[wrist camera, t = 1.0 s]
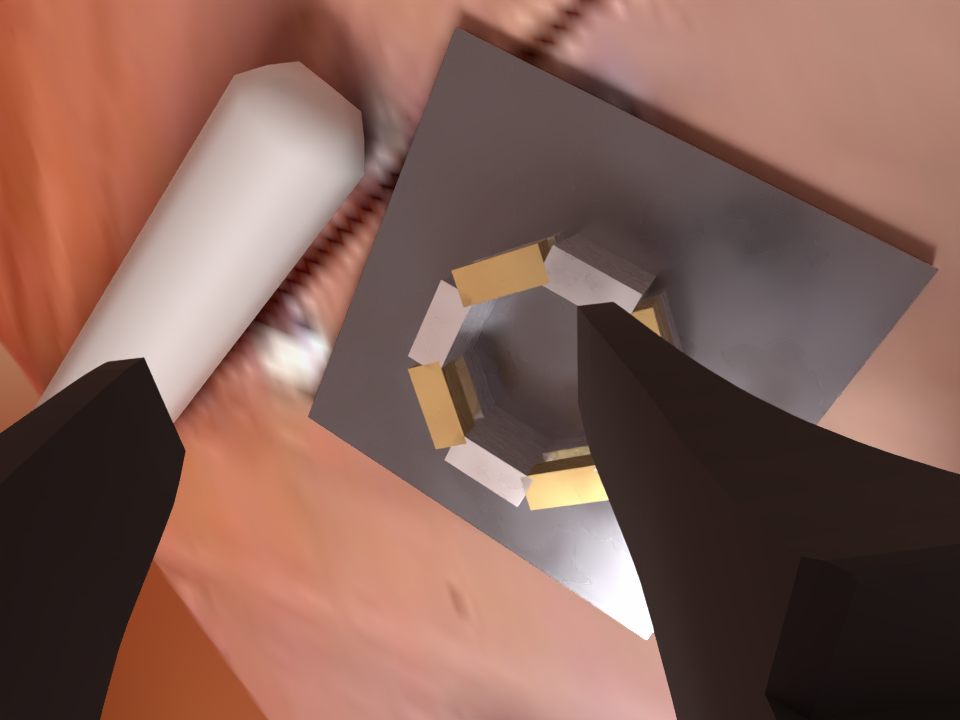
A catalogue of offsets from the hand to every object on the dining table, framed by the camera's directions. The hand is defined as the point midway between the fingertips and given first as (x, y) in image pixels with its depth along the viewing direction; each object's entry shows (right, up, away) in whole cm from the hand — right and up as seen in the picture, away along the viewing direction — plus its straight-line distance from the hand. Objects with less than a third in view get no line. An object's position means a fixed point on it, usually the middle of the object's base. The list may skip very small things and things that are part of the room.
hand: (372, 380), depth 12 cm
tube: (-10, +2, +19) cm, 22 cm away
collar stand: (+5, +1, +13) cm, 14 cm away
